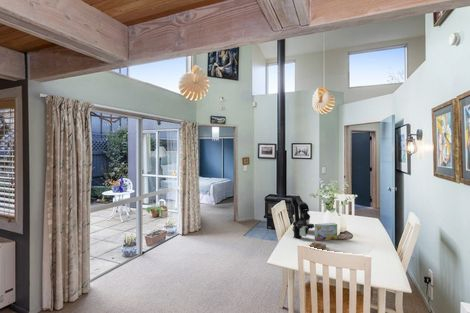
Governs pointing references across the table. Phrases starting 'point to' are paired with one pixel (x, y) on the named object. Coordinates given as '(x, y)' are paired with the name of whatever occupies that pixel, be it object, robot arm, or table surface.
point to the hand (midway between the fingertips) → (303, 233)
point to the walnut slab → (318, 245)
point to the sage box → (303, 232)
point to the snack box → (325, 231)
